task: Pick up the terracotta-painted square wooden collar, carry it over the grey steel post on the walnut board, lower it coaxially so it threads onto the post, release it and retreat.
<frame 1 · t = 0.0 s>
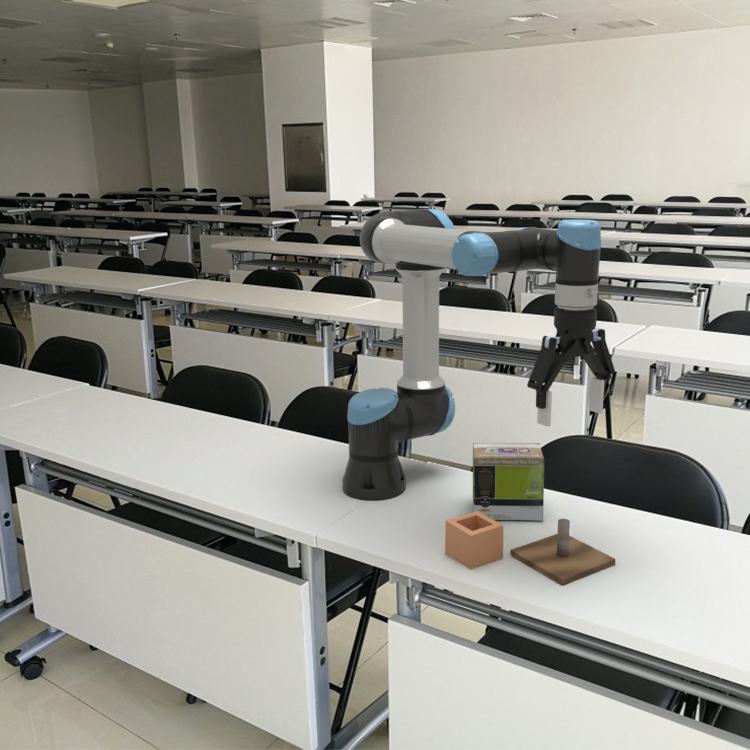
hand: (570, 418, 150), 28 cm above the table, fingers open, 13 cm apart
collar: (473, 555, 157), on the table
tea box: (506, 512, 177), on the table
post board: (562, 560, 155), on the table
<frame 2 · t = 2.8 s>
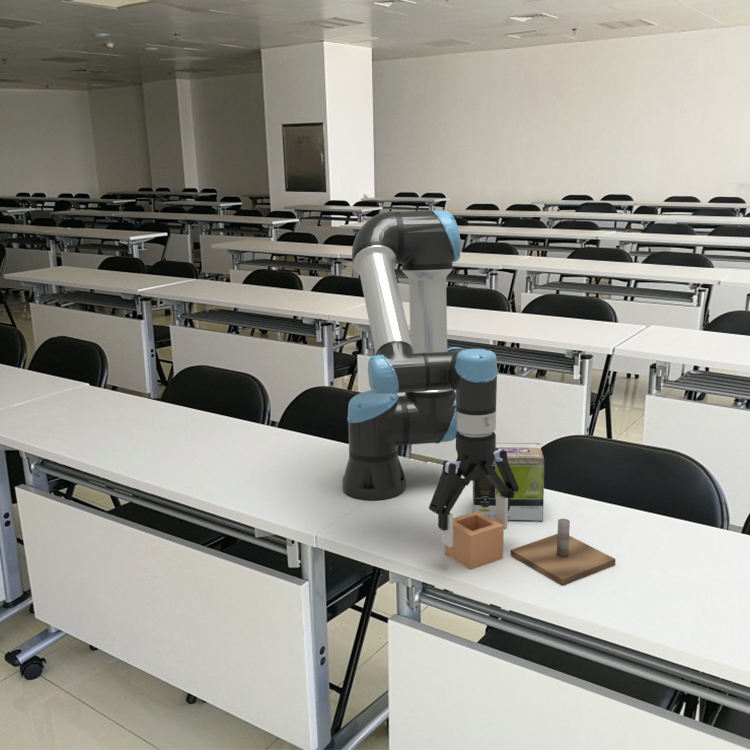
hand: (474, 535, 156), 4 cm above the table, fingers open, 13 cm apart
nothing on the table moved.
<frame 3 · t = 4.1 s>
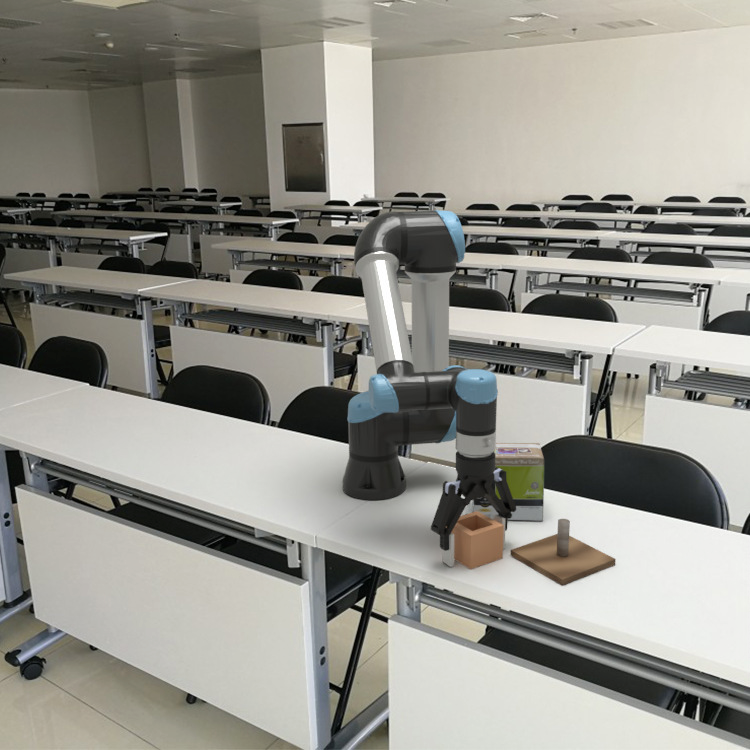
hand: (474, 555, 157), 0 cm above the table, fingers open, 12 cm apart
nothing on the table moved.
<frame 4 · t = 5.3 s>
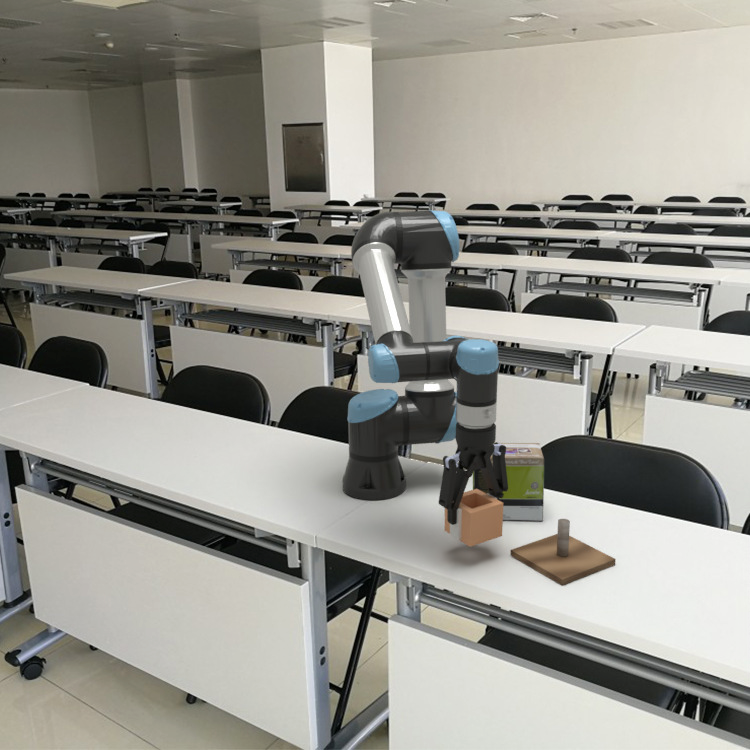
hand: (473, 531, 157), 5 cm above the table, fingers closed on collar, 8 cm apart
collar: (473, 533, 157), point 4 cm above the table, touching gripper
everything else where it was.
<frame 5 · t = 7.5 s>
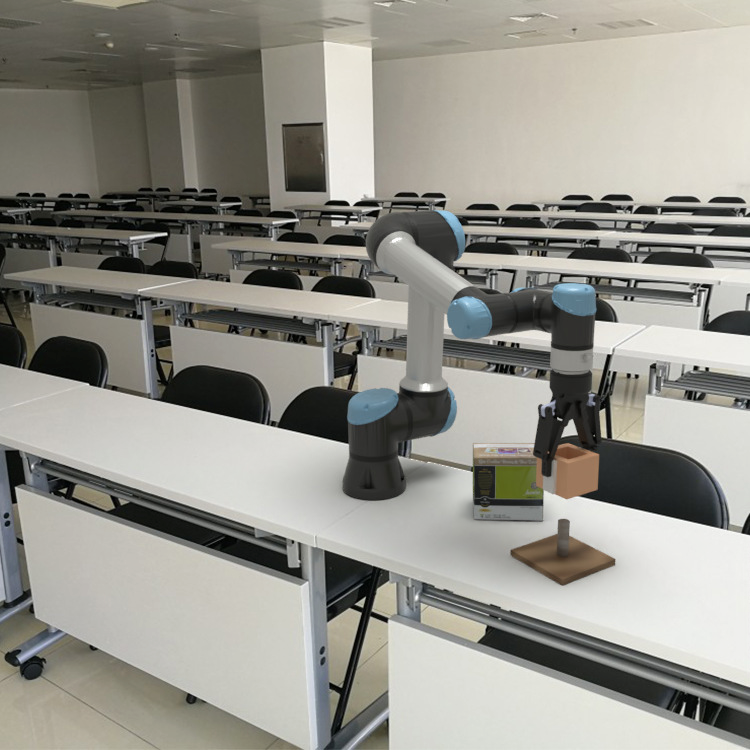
hand: (566, 486, 151), 15 cm above the table, fingers closed on collar, 8 cm apart
collar: (566, 487, 151), point 15 cm above the table, touching gripper
everything else where it was.
when the fingers open (4 cm above the table, at t = 9.7 s): collar drops 2 cm, resting on post board.
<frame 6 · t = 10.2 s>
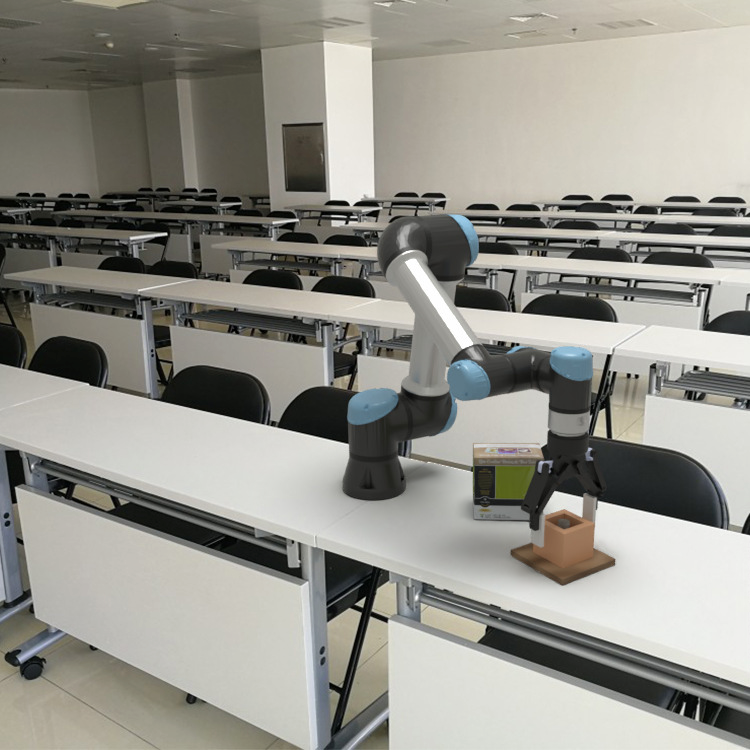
hand: (563, 535, 153), 5 cm above the table, fingers open, 13 cm apart
collar: (562, 554, 154), point 1 cm above the table, touching post board
everything else where it was.
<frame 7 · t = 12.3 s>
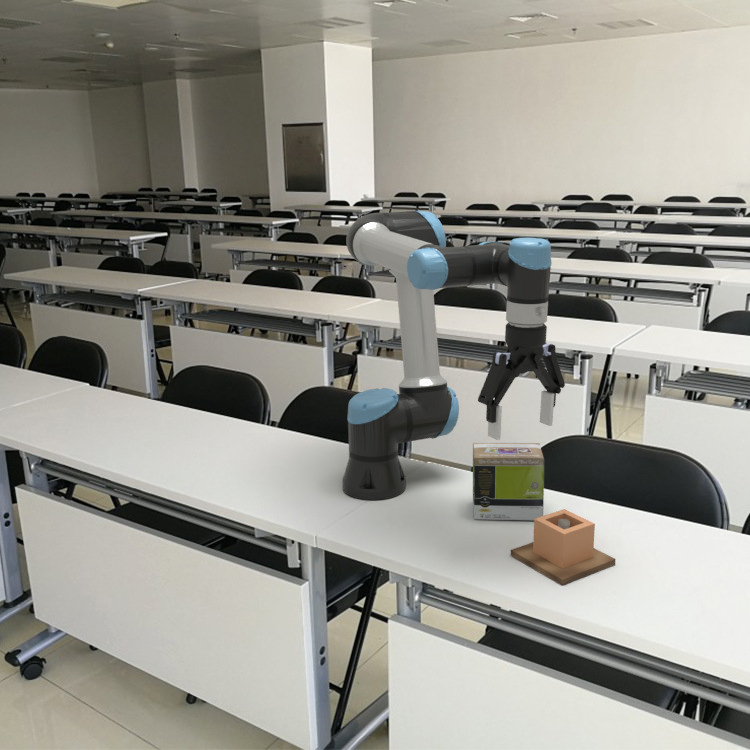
hand: (520, 430, 154), 25 cm above the table, fingers open, 13 cm apart
nothing on the table moved.
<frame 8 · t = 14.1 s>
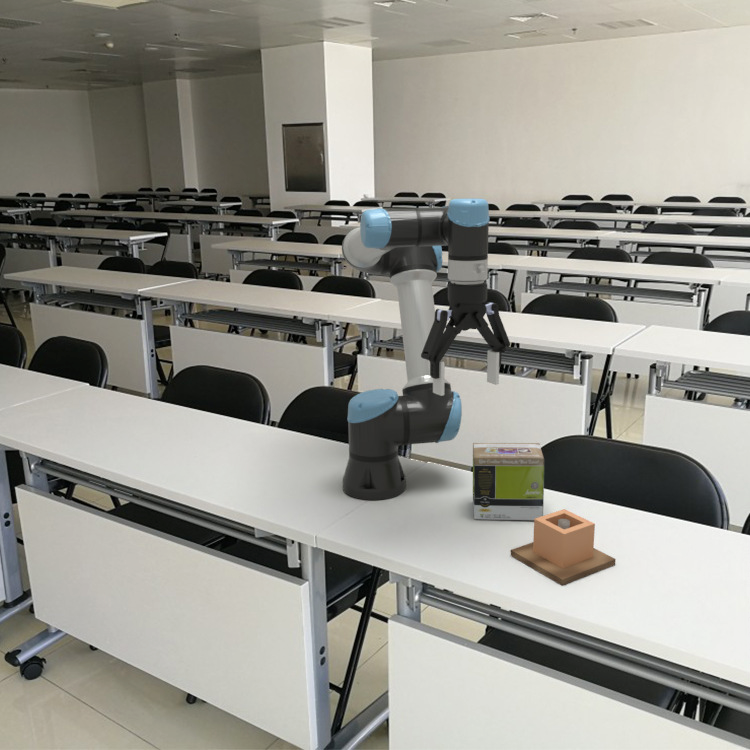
hand: (466, 388, 158), 32 cm above the table, fingers open, 13 cm apart
nothing on the table moved.
at the end: collar 0.1 cm off-centre on the post board, point 1.2 cm above the post board's base; collar tilted 0°; the gripper is holding nothing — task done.
